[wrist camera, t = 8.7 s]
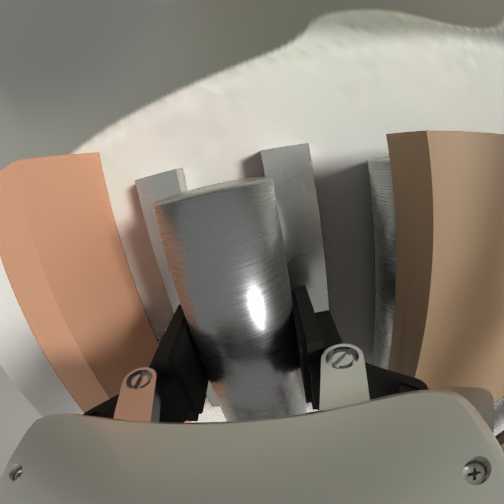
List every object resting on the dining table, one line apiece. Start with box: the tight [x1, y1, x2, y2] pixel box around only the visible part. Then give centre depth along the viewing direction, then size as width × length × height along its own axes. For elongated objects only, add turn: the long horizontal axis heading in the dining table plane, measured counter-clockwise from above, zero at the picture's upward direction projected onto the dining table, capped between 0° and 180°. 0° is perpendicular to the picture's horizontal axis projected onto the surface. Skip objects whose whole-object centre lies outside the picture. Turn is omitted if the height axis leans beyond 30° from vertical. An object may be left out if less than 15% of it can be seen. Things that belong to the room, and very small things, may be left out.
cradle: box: [135, 143, 329, 407], centre depth 14 cm, size 8×14×1 cm, turn 11°
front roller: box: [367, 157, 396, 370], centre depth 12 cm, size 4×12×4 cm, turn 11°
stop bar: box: [0, 153, 191, 423], centre depth 12 cm, size 2×18×6 cm, turn 11°
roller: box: [152, 177, 306, 422], centre depth 11 cm, size 12×4×4 cm, turn 11°
